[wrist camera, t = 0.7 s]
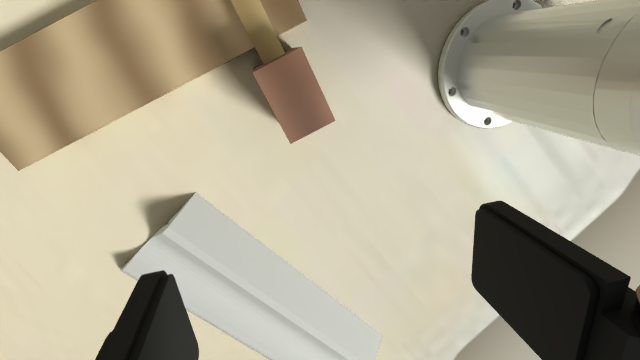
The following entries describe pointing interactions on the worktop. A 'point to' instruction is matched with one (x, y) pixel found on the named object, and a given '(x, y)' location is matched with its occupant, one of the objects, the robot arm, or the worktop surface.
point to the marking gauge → (284, 76)
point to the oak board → (114, 65)
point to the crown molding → (251, 289)
